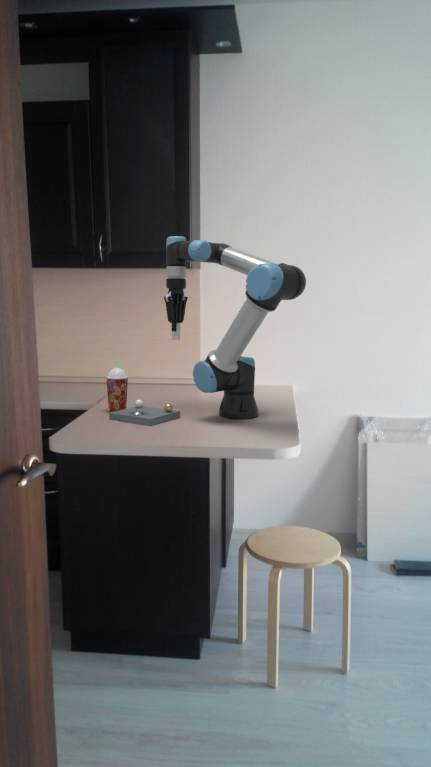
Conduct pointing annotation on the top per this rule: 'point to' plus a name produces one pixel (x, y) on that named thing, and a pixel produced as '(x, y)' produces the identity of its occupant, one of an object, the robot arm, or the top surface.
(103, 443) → the top surface
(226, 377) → the robot arm
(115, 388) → the smoothie
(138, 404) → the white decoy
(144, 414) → the bearing plate
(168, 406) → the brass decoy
